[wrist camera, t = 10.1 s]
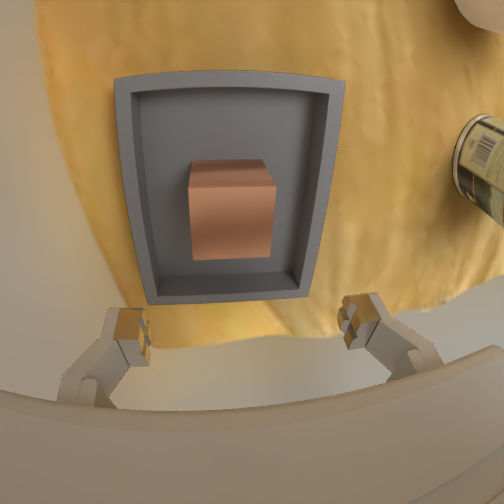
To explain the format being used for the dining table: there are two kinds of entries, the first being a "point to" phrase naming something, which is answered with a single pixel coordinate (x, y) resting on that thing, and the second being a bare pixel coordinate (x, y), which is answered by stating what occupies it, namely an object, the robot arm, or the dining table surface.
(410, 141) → the dining table surface
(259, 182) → the block
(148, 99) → the tray
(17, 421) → the robot arm
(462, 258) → the dining table surface
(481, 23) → the foam cup
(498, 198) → the coffee can
